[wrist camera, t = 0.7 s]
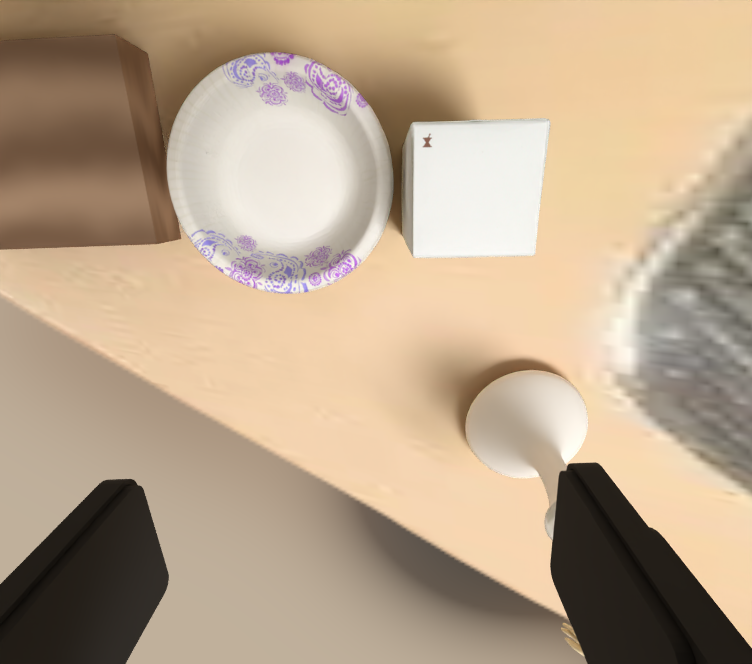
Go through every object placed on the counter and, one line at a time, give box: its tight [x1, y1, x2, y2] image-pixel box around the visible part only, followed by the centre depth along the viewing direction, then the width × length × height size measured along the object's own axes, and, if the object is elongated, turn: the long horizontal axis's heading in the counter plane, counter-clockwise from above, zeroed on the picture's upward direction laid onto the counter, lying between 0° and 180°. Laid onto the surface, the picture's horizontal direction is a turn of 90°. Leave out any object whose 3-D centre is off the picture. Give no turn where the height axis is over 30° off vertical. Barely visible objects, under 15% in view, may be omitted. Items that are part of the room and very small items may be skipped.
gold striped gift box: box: [0, 34, 181, 250], centre depth 32 cm, size 14×16×4 cm
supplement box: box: [402, 118, 550, 258], centre depth 28 cm, size 7×7×13 cm
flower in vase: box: [465, 370, 588, 657], centre depth 29 cm, size 13×11×25 cm
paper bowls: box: [167, 52, 394, 294], centre depth 31 cm, size 15×15×8 cm
